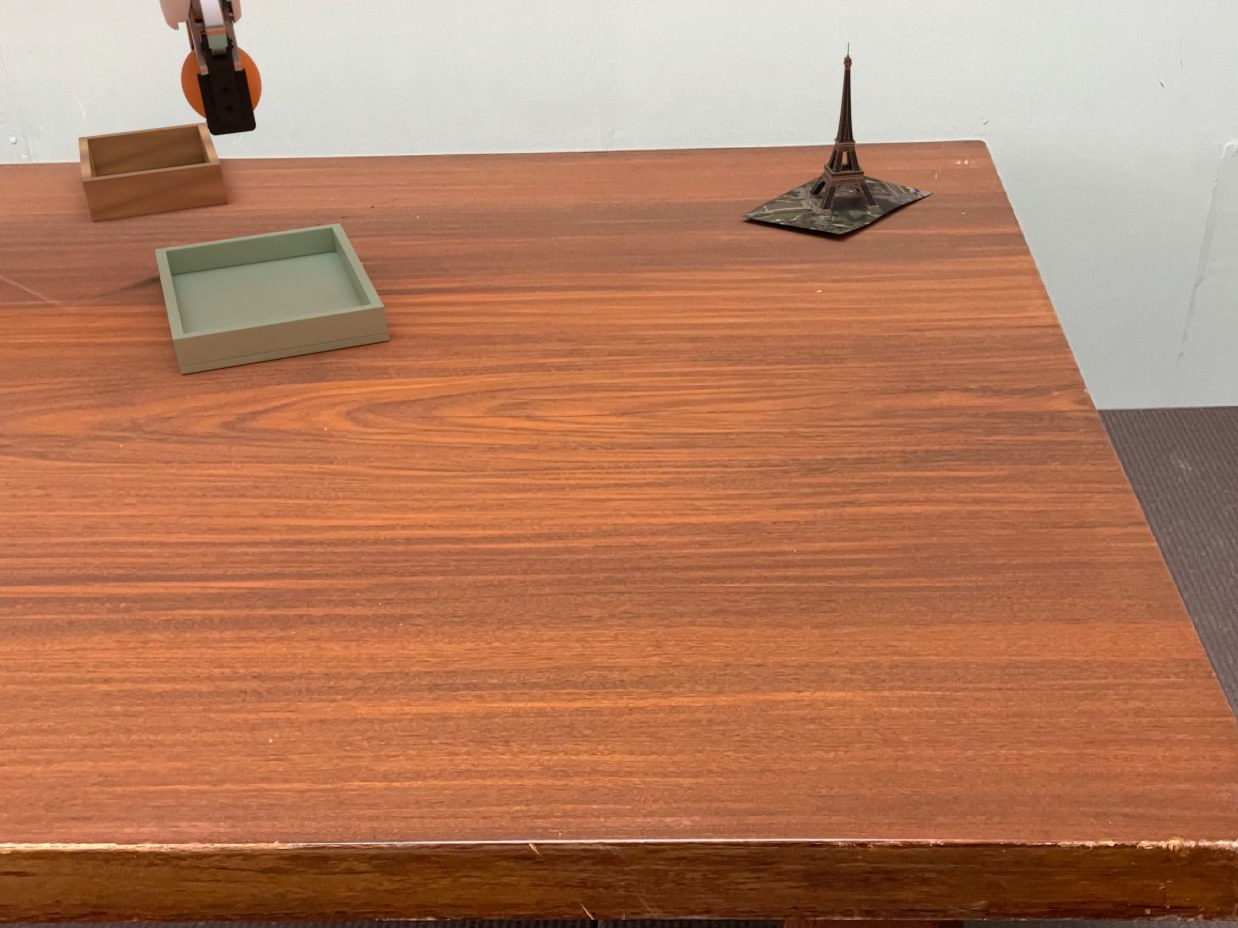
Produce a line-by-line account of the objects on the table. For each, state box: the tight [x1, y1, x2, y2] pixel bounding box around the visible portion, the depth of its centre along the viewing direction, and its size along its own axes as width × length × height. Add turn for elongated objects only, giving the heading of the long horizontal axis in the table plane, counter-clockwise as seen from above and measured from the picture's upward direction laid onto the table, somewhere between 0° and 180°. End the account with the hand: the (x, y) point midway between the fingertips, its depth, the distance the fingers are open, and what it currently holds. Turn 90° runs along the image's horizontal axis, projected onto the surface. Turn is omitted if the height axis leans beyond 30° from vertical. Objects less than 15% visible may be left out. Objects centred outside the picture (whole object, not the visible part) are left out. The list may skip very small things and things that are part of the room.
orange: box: [180, 46, 263, 128], centre depth 102 cm, size 5×5×6 cm
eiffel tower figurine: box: [741, 42, 933, 235], centre depth 122 cm, size 15×10×13 cm
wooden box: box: [77, 121, 229, 223], centre depth 133 cm, size 15×12×4 cm
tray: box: [154, 222, 390, 375], centre depth 110 cm, size 20×15×3 cm
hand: (228, 118), depth 103 cm, fingers closed on orange, 5 cm apart
